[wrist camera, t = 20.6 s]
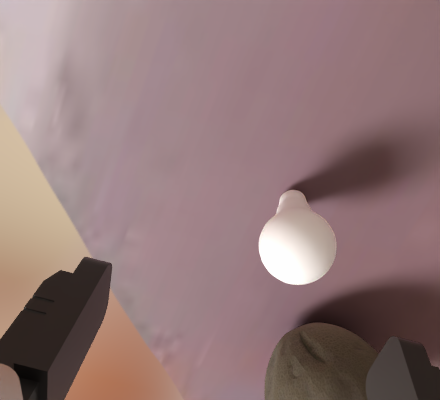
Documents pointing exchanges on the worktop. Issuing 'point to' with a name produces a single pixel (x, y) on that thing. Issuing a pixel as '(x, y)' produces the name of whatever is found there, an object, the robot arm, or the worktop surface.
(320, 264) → the lightbulb
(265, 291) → the worktop surface
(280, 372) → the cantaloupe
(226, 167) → the worktop surface
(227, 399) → the worktop surface
